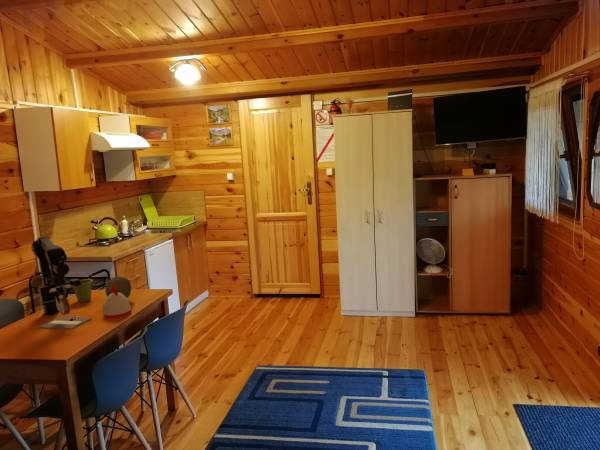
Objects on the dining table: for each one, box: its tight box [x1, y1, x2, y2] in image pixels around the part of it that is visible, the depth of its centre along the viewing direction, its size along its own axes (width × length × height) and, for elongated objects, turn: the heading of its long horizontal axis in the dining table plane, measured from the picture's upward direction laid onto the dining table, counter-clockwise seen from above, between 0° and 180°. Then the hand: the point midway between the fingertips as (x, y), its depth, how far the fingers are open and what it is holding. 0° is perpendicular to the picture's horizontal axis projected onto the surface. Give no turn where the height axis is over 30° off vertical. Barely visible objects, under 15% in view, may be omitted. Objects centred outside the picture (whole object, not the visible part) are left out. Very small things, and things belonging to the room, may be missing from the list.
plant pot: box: [71, 278, 94, 303], centre depth 275 cm, size 12×12×11 cm
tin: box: [56, 294, 71, 315], centre depth 235 cm, size 15×3×8 cm, turn 42°
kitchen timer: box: [102, 286, 132, 319], centre depth 246 cm, size 14×14×15 cm
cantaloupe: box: [105, 276, 132, 299], centre depth 265 cm, size 14×14×15 cm
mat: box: [38, 316, 92, 330], centre depth 237 cm, size 20×14×1 cm
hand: (62, 302), depth 235 cm, fingers closed on tin, 3 cm apart
